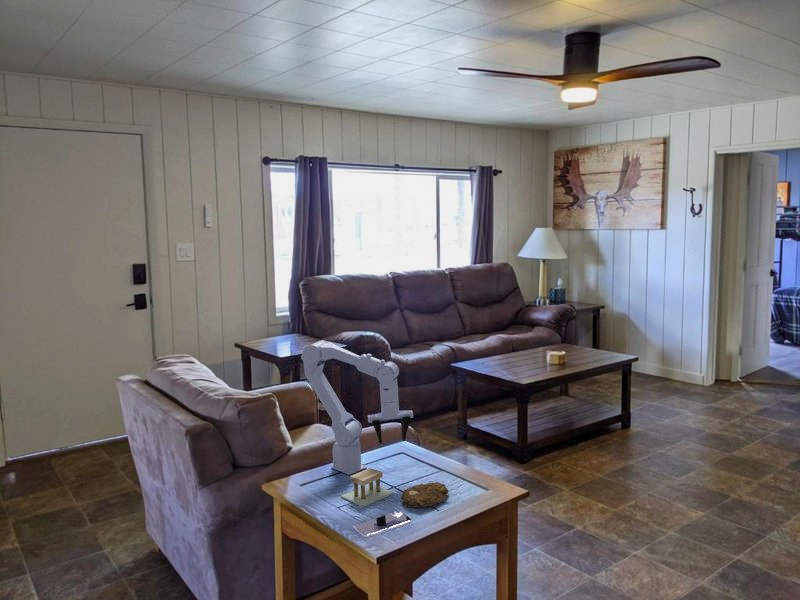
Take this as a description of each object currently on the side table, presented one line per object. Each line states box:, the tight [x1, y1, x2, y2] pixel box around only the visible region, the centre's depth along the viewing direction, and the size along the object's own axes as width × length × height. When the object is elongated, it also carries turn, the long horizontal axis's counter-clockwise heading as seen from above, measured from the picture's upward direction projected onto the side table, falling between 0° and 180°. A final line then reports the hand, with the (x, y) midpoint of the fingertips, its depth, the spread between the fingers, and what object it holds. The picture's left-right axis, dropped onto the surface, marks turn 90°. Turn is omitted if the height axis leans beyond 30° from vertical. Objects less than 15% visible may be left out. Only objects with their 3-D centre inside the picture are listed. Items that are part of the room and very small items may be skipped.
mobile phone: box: [353, 510, 413, 538], centre depth 165 cm, size 8×1×15 cm
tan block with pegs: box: [350, 467, 383, 499], centre depth 184 cm, size 5×8×6 cm
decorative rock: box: [400, 481, 450, 509], centre depth 179 cm, size 11×4×15 cm
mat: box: [340, 483, 394, 508], centre depth 184 cm, size 10×12×1 cm
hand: (392, 441), depth 199 cm, fingers open, 7 cm apart
